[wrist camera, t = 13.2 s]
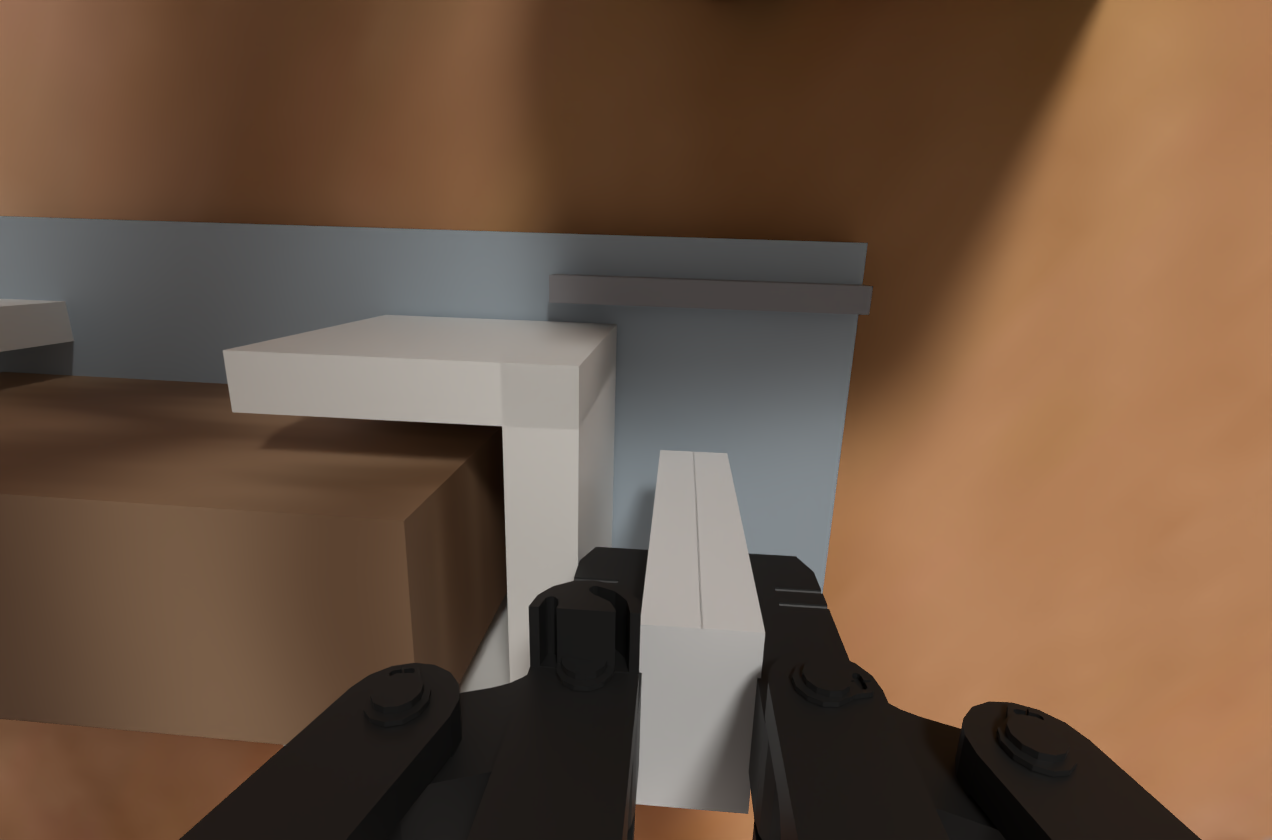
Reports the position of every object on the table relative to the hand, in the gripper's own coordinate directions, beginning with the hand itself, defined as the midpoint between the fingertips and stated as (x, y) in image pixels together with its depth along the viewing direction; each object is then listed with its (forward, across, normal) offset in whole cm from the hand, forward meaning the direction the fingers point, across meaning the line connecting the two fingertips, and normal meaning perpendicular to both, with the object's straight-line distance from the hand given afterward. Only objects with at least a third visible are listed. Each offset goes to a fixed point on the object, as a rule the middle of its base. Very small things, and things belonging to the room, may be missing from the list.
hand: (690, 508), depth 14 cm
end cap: (+1, -5, 0) cm, 5 cm away
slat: (+2, -11, 0) cm, 11 cm away
